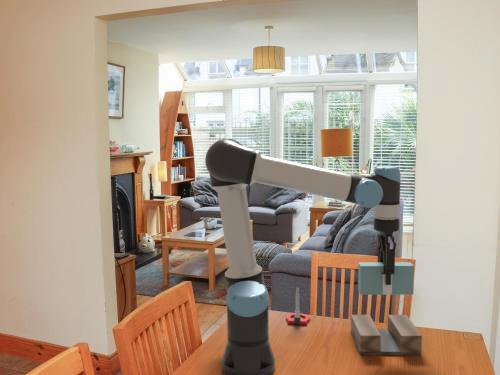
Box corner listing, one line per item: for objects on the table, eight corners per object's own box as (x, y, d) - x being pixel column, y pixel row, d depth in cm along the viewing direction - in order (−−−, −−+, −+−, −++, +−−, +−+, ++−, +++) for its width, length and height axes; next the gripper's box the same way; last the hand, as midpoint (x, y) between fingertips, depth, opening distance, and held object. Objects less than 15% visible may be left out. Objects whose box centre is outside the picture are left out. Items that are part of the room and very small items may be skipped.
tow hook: (286, 315, 175) (284, 324, 166) (287, 280, 174) (285, 288, 165) (310, 316, 174) (309, 326, 164) (310, 281, 173) (309, 289, 163)
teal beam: (409, 290, 150) (410, 262, 149) (413, 294, 146) (414, 265, 145) (358, 290, 151) (358, 262, 150) (360, 294, 147) (360, 266, 146)
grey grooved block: (360, 354, 143) (360, 335, 142) (351, 332, 159) (351, 314, 158) (421, 355, 142) (421, 335, 142) (405, 332, 158) (406, 314, 157)
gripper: (407, 222, 137) (405, 301, 140) (391, 212, 154) (390, 282, 157) (380, 222, 137) (379, 301, 140) (368, 212, 154) (367, 282, 157)
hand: (385, 291), depth 149 cm, fingers closed on teal beam, 4 cm apart
